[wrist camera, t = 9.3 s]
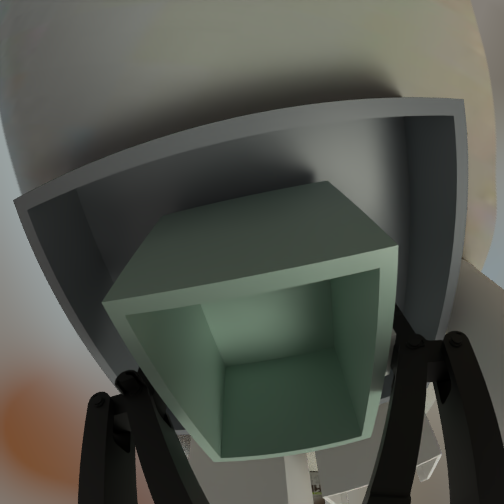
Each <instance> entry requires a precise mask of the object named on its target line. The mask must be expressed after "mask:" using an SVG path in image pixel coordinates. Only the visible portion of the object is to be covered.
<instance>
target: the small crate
mask: <svg viewBox="0 0 504 504" xmlns="http://www.w3.org/2000/svg"><path fill="white" fill-rule="evenodd" d="M397 269H398V244H397V243H396V242H395V241H394V240H393V239H392V238H391V237H390V236H388V235H387V234H386V233H385V232H384V231H383V230H382V229H381V228H380V227H379V226H378V225H377V224H376V223H375V222H374V221H373V220H372V219H371V218H369V217H368V216H367V215H366V214H365V213H364V212H363V211H362V210H361V209H360V208H359V207H357V206H356V205H355V204H354V203H353V202H352V201H351V200H350V199H348V198H347V197H346V196H345V195H344V194H343V193H342V192H340V191H339V190H338V189H337V188H336V187H335V186H333V185H332V184H331V183H330V182H329V181H322V182H316V183H310V184H305V185H299V186H294V187H289V188H284V189H278V190H273V191H268V192H263V193H258V194H254V195H249V196H244V197H239V198H235V199H230V200H226V201H221V202H217V203H212V204H208V205H204V206H200V207H195V208H191V209H187V210H183V211H179V212H175V213H171V214H167V215H163V216H162V217H161V218H160V219H159V221H158V222H157V223H156V225H155V226H154V227H153V229H152V230H151V231H150V233H149V234H148V236H147V237H146V238H145V240H144V241H143V242H142V244H141V245H140V246H139V248H138V249H137V251H136V252H135V253H134V255H133V256H132V258H131V259H130V261H129V262H128V263H127V265H126V266H125V268H124V269H123V271H122V272H121V274H120V275H119V277H118V278H117V280H116V281H115V283H114V284H113V286H112V287H111V289H110V290H109V292H108V293H107V295H106V296H105V298H104V299H103V301H102V304H103V306H104V308H105V310H106V312H107V313H108V315H109V317H110V319H111V321H112V322H113V324H114V326H115V328H116V329H117V331H118V333H119V334H120V336H121V338H122V340H123V341H124V343H125V345H126V346H127V348H128V349H129V351H130V353H131V354H132V356H133V357H134V359H135V360H136V362H137V364H138V365H139V367H140V368H141V370H142V371H143V373H144V374H145V376H146V377H147V379H148V380H149V381H150V383H151V384H152V386H153V387H154V389H155V390H156V391H157V393H158V394H159V396H160V397H161V398H162V400H163V401H164V402H165V404H166V405H167V406H168V408H169V409H170V410H171V412H172V413H173V414H174V416H175V417H176V418H177V419H178V421H179V422H180V423H181V424H182V426H183V427H184V428H185V429H186V431H187V432H188V433H189V434H190V435H191V437H192V438H193V439H194V440H195V441H196V443H197V444H198V445H199V446H200V447H201V448H202V449H203V451H204V452H205V453H206V454H207V455H208V456H209V457H210V458H211V459H212V461H213V462H229V461H245V460H257V459H266V458H275V457H282V456H289V455H295V454H302V453H307V452H313V451H318V450H323V449H327V448H332V447H336V446H340V445H345V444H349V443H352V442H356V441H360V440H363V439H367V438H370V437H371V435H372V431H373V428H374V424H375V420H376V416H377V412H378V407H379V403H380V398H381V394H382V389H383V384H384V379H385V373H386V368H387V362H388V356H389V349H390V342H391V335H392V327H393V319H394V309H395V298H396V286H397Z"/></svg>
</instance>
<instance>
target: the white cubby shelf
mask: <svg viewBox="0 0 504 504" xmlns="http://www.w3.org/2000/svg"><path fill="white" fill-rule="evenodd" d="M388 405H389V402H386V403H383V404H379V407H378V412H377V416H376V420H375V424H374V428H373V431H372V435H371V437H370V438H367V439H363V440H360V441H356V442H352V443H349V444H345V445H340V446H336V447H332V448H327V449H323V450H318V451H315V455H316V461H317V467H318V473H319V480H320V486H321V493H322V497H323V498H324V499H325V500H327V501H328V502H330V503H331V504H349V503H348V497H347V492H348V491H351V490H355V489H358V488H361V487H364V486H367V485H369V482H370V479H371V475H372V472H373V469H374V465H375V461H376V458H377V454H378V450H379V446H380V442H381V438H382V434H383V429H384V425H385V420H386V415H387V410H388ZM441 455H442V452H441V449H440V447H439V444H438V442H437V439H436V437H435V435H434V432H433V430H432V428H431V425H430V423H429V420H428V418H427V416H426V414H425V411H424V420H423V428H422V436H421V442H420V449H419V454H418V460H417V465H416V470H417V474H418V476H419V480H420V482H423V481H425V480H427V479H429V478H430V476H431V474H432V472H433V470H434V468H435V467H436V465H437V463H438V461H439V459H440V457H441ZM188 462H189V464H190V466H191V468H192V470H193V472H194V474H195V476H196V478H197V480H198V482H199V484H200V486H201V488H202V490H203V492H204V494H205V496H206V498H207V500H208V502H209V503H210V504H314V502H313V495H312V488H311V480H310V473H309V466H308V459H307V453H302V454H295V455H289V456H282V457H275V458H266V459H257V460H245V461H229V462H213V461H212V459H211V458H210V457H209V456H208V455H207V454H206V453H205V452H204V451H203V449H202V448H201V447H200V446H199V445H198V444H197V443H196V441H195V440H194V439H193V438H192V437H191V441H190V450H189V458H188Z"/></svg>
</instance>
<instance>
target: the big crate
mask: <svg viewBox="0 0 504 504" xmlns="http://www.w3.org/2000/svg"><path fill="white" fill-rule="evenodd" d="M322 181H329V182H330V183H331V184H332V185H333V186H335V187H336V188H337V189H338V190H339V191H340V192H342V193H343V194H344V195H345V196H346V197H347V198H348V199H350V200H351V201H352V202H353V203H354V204H355V205H356V206H357V207H359V208H360V209H361V210H362V211H363V212H364V213H365V214H366V215H367V216H368V217H369V218H371V219H372V220H373V221H374V222H375V223H376V224H377V225H378V226H379V227H380V228H381V229H382V230H383V231H384V232H385V233H386V234H387V235H388V236H390V237H391V238H392V239H393V240H394V241H395V242H396V243H397V244H398V269H397V286H396V298H395V303H396V304H397V306H398V307H399V309H400V310H401V312H402V313H403V315H404V316H405V318H406V319H407V321H408V322H409V324H410V325H411V327H412V328H413V330H414V332H415V333H416V334H420V335H422V336H423V337H424V338H425V339H426V340H443V339H444V336H445V334H446V330H447V327H448V323H449V319H450V315H451V311H452V307H453V302H454V298H455V293H456V288H457V283H458V278H459V272H460V266H461V259H462V253H463V245H464V237H465V227H466V215H467V199H468V144H467V128H466V116H465V107H464V99H451V98H423V97H403V98H373V99H357V100H345V101H334V102H325V103H317V104H309V105H301V106H295V107H288V108H282V109H276V110H270V111H265V112H259V113H254V114H249V115H245V116H240V117H235V118H231V119H226V120H222V121H218V122H214V123H210V124H206V125H202V126H198V127H195V128H191V129H187V130H184V131H180V132H177V133H173V134H170V135H167V136H164V137H160V138H157V139H154V140H151V141H148V142H145V143H142V144H139V145H136V146H133V147H131V148H128V149H125V150H122V151H120V152H117V153H114V154H112V155H109V156H106V157H104V158H101V159H99V160H96V161H94V162H91V163H89V164H87V165H84V166H82V167H80V168H77V169H75V170H73V171H71V172H68V173H66V174H64V175H62V176H60V177H58V178H55V179H53V180H51V181H49V182H47V183H45V184H43V185H41V186H39V187H37V188H35V189H33V190H31V191H29V192H27V193H26V194H24V195H22V196H20V197H18V198H17V199H15V200H13V201H14V204H15V207H16V209H17V212H18V215H19V218H20V221H21V223H22V226H23V228H24V231H25V233H26V236H27V238H28V240H29V243H30V245H31V247H32V250H33V252H34V254H35V256H36V259H37V261H38V263H39V265H40V267H41V269H42V271H43V273H44V275H45V277H46V279H47V281H48V283H49V285H50V287H51V289H52V291H53V293H54V295H55V296H56V298H57V300H58V302H59V304H60V305H61V307H62V309H63V311H64V312H65V314H66V316H67V317H68V319H69V321H70V322H71V324H72V325H73V327H74V329H75V330H76V332H77V334H78V335H79V337H80V338H81V340H82V341H83V343H84V344H85V346H86V347H87V349H88V350H89V352H90V353H91V355H92V356H93V358H94V359H95V360H96V362H97V363H98V365H99V366H100V367H101V369H102V370H103V371H104V373H105V374H106V375H107V377H108V378H109V379H110V381H111V382H112V383H113V385H114V386H115V380H116V378H117V376H118V375H119V374H120V373H122V372H124V371H127V370H135V371H136V372H138V369H139V365H138V364H137V362H136V360H135V359H134V357H133V356H132V354H131V353H130V351H129V349H128V348H127V346H126V345H125V343H124V341H123V340H122V338H121V336H120V334H119V333H118V331H117V329H116V328H115V326H114V324H113V322H112V321H111V319H110V317H109V315H108V313H107V312H106V310H105V308H104V306H103V304H102V301H103V299H104V298H105V296H106V295H107V293H108V292H109V290H110V289H111V287H112V286H113V284H114V283H115V281H116V280H117V278H118V277H119V275H120V274H121V272H122V271H123V269H124V268H125V266H126V265H127V263H128V262H129V261H130V259H131V258H132V256H133V255H134V253H135V252H136V251H137V249H138V248H139V246H140V245H141V244H142V242H143V241H144V240H145V238H146V237H147V236H148V234H149V233H150V231H151V230H152V229H153V227H154V226H155V225H156V223H157V222H158V221H159V219H160V218H161V217H162V216H163V215H167V214H171V213H175V212H179V211H183V210H187V209H191V208H195V207H200V206H204V205H208V204H212V203H217V202H221V201H226V200H230V199H235V198H239V197H244V196H249V195H254V194H258V193H263V192H268V191H273V190H278V189H284V188H289V187H294V186H299V185H305V184H310V183H316V182H322ZM393 376H394V373H393V371H392V369H390V374H389V375H386V376H385V379H384V384H383V389H382V394H381V398H380V403H379V404H383V403H386V402H389V400H390V394H391V385H392V381H393ZM428 385H429V382H427V387H426V388H428ZM115 387H116V386H115ZM116 388H117V387H116ZM117 390H118V389H117ZM119 392H120V391H119ZM120 393H121V392H120ZM166 412H167V414H168V415H169V417H170V420H171V422H172V425H173V427H174V430H175V432H176V434H177V435H190V434H189V433H188V432H187V431H186V429H185V428H184V427H183V426H182V424H181V423H180V422H179V421H178V419H177V418H176V417H175V416H174V414H173V413H172V412H171V410H170V409H169V408H168V406H167V408H166Z"/></svg>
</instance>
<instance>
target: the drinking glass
mask: <svg viewBox="0 0 504 504" xmlns="http://www.w3.org/2000/svg"><path fill="white" fill-rule="evenodd" d="M451 331H460V332H462V333H464V334H465V335H466V336H467V337H468V339H469V341H470V343H471V346H472V348H473V351H474V353H475V356H476V358H477V361H478V363H479V366H480V369H481V371H482V374H483V377H484V380H485V382H486V385H487V388H488V391H489V394H490V397H491V401H492V404H493V407H494V411H495V414H496V418H497V421H498V425H499V429H500V433H501V437H502V442H503V445H504V290H503V289H502V288H501V287H500V286H498V285H497V284H496V283H494V282H493V281H492V280H490V279H489V278H488V277H487V276H485V275H484V274H483V273H481V272H480V271H479V270H478V269H477V268H475V267H474V266H473V265H472V264H471V263H470V262H468V261H466V260H464V259H461V266H460V272H459V278H458V283H457V288H456V293H455V298H454V302H453V307H452V311H451V315H450V319H449V323H448V327H447V330H446V334H447V333H448V332H451Z"/></svg>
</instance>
